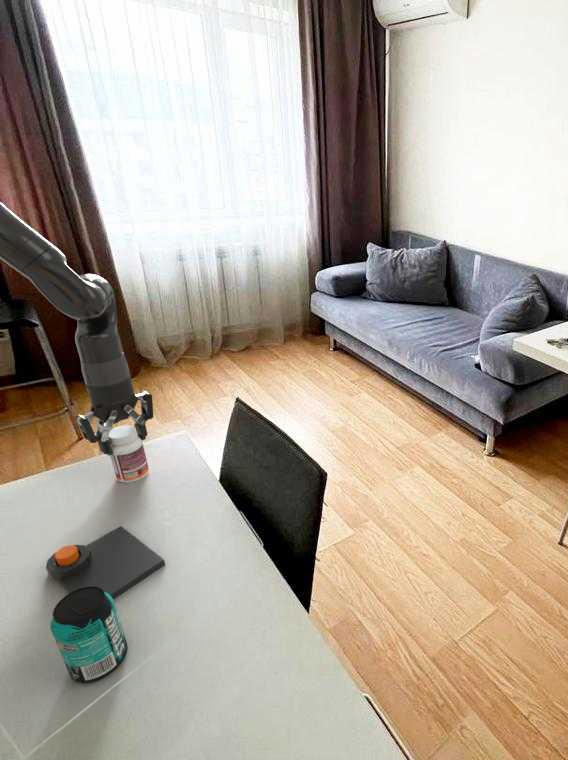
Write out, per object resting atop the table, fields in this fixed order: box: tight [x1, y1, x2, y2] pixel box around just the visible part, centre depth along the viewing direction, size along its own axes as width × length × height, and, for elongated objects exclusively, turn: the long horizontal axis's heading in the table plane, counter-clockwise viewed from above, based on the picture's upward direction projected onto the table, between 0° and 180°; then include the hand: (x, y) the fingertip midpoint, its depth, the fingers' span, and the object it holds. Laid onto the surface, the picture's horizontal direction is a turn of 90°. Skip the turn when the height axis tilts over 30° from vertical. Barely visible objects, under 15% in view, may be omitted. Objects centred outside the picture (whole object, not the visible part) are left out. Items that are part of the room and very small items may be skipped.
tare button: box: [55, 544, 79, 566], centre depth 83 cm, size 3×3×2 cm
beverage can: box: [49, 586, 129, 684], centre depth 69 cm, size 7×7×12 cm
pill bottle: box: [108, 424, 150, 484], centre depth 106 cm, size 6×6×11 cm
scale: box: [45, 525, 166, 601], centre depth 85 cm, size 14×12×3 cm
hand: (125, 445), depth 105 cm, fingers closed on pill bottle, 6 cm apart
